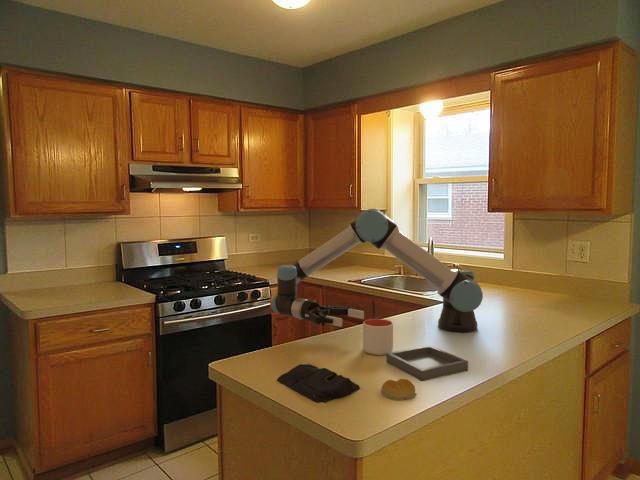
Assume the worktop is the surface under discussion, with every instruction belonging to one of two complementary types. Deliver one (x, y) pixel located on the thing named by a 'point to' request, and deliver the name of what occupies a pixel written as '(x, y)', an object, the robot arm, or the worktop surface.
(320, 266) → the robot arm
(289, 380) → the dark slate chunk
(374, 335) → the cup
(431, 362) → the tray
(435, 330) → the worktop surface
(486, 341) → the worktop surface
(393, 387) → the bread roll
